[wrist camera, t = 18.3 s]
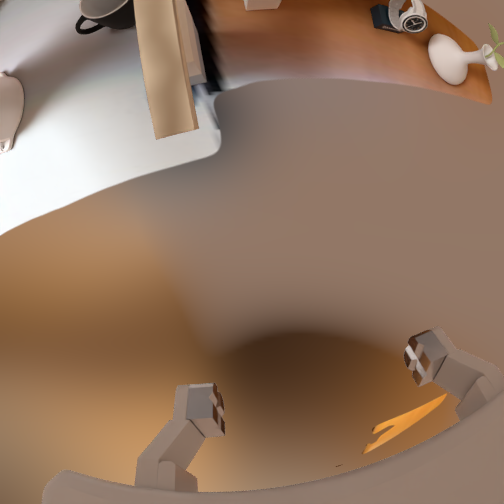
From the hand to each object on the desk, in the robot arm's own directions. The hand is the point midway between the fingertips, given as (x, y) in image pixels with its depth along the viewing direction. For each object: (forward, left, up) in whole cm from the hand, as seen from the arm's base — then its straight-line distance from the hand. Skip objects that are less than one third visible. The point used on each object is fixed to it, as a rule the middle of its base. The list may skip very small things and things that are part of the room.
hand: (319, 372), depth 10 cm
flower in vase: (+43, +22, -37) cm, 61 cm away
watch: (+29, +27, -37) cm, 54 cm away
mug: (-16, +33, -37) cm, 52 cm away
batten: (-6, +20, -21) cm, 30 cm away
